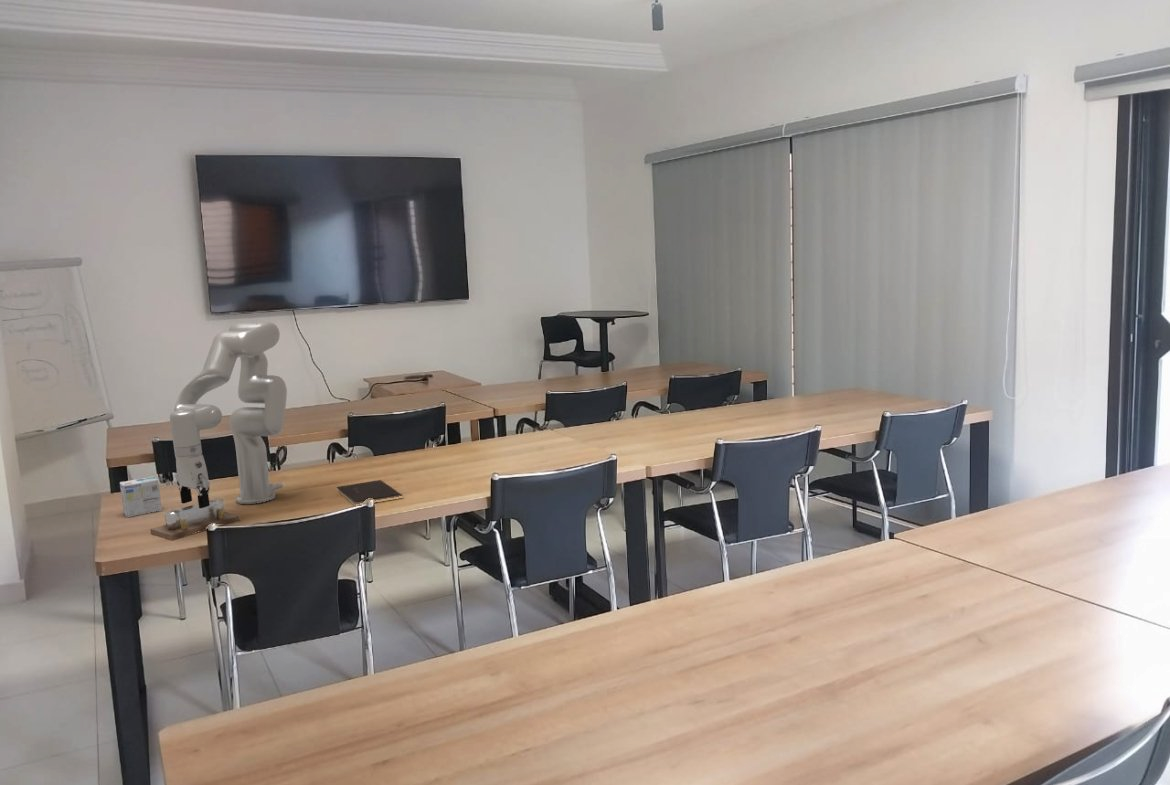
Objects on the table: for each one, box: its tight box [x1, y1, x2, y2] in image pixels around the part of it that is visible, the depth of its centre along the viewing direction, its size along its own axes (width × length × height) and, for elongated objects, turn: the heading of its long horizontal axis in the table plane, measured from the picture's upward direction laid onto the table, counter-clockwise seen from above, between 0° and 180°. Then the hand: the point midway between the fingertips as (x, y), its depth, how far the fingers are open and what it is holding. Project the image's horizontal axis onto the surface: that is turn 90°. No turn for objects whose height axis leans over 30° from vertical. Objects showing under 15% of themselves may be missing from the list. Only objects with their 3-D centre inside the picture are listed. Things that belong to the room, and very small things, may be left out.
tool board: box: [150, 509, 241, 541], centre depth 270 cm, size 22×12×4 cm, turn 144°
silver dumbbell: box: [164, 498, 225, 530], centre depth 270 cm, size 18×4×5 cm, turn 143°
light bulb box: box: [119, 475, 163, 518], centre depth 288 cm, size 11×7×11 cm, turn 129°
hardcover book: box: [336, 479, 403, 505], centre depth 299 cm, size 16×23×2 cm
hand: (195, 504), depth 270 cm, fingers open, 9 cm apart
